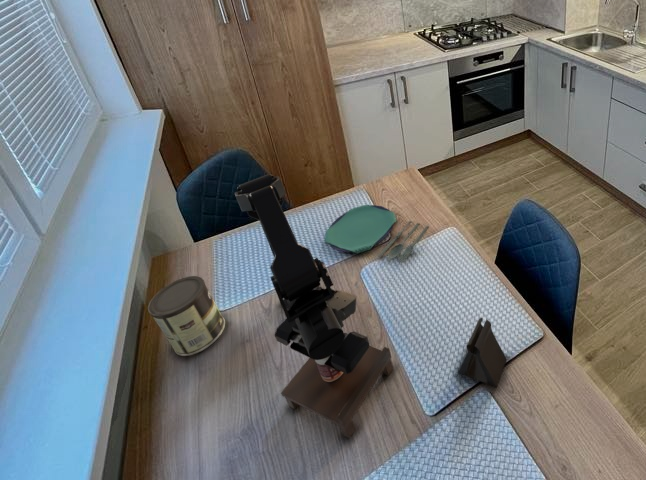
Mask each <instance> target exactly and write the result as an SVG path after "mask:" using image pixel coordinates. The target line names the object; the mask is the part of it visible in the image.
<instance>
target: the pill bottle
mask: <svg viewBox="0 0 646 480" xmlns="http://www.w3.org/2000/svg"><path fill="white" fill-rule="evenodd" d="M330 356H331V355H330ZM330 356H329V357H330ZM329 357H327V358H324V359H321V360H315V362H316V364H317V367H318V369H319V372H320V374H321V377H322V379H323V380H324V381H327V382H332V381H335V380H336V379H338V378H339V377H340V376H341V375H342V374H343V372H339V371H337V370H335V369H333V368H331V367H329V366H327V365H325V364H324V363H325V362H326V361H327V360H328V358H329Z"/></svg>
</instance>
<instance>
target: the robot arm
mask: <svg viewBox="0 0 646 480" xmlns="http://www.w3.org/2000/svg"><path fill="white" fill-rule="evenodd" d="M236 189H237V191H235V192H234V195H235V198H236V201H237V203H238V205H239V208H240V210H241V212H243V213H244V212H246V213H247V216H248V217H250V218H252V219H254V220H257V221H259V224H260V226H261V228H262V230H263V234H264V236H265V238H266V240H267V244H268V245H269V248H270V251H271V253H272V255H273V260H272V262H271V264H270V266H269V268H270V271H271V274H272V276H270V280H271V283H272V285H273V288H274V290H275V293H276V296H277V298H278V300H279V302H280V305H281V308H282V310H283V313H284V315H285V319H284V320H283V321H282V322H281V323H280V324H279V325H278V326H277V327H276V330H275V333H274V337H275V340H276V342H278V343H280V344H282V345H284V346H289V345H290V346H289V348H290V349H291V350H293V351H294V352H297V353H299V354H301V355H303V356H305V357H307V358H308V359H309V358H311V359H313V360H321V359H324V358H327V357H329V356H330V355H331V356H330V357H329V358H328V360H327V361H326V362H325V363H324V364H325V365H327V366H329V367H331V368H333V369H335V370H337V371H339V372H344V373H346V374H349V373H351V372H352V371H353V370H354V368H355V367H356V365H357V364H358V363H359V361H360V360H361V358H362V357H363V355H364V354H365V353H366V351H367V350H368V348H369V347H370V346H371V345H370V340H369V337H368V336H366V335H364V334H361V333H359V332H357V331H355V330H353V331H350V332H344V330H343V327H344V322H345V320H347V319H348V318H349V317H350V316H351V315H354V314H355V313H356V312H357V295H355V294H353V293H350V292H348V291H345V290H338V289H334V288H332V287H333V286H334V283H333V281H332V278H331V276H330V274H329V272H328V270H327V267H326V264H325V263H324V261H322V260H321V259H319V258H318V257H316V258H315V257H314V256H313V254H312V252H311V250H310V248H309V247H306V246H304V245H302V244H299V243H298V240H297V238H296V236H295V233H294V232H293V230H292V227H291V225H290V222H289V221H288V219H287V216H286V213H285V212H284V209H283V208H282V206H283V204H284V202H285V200H284V196H285V195H286V194H287V192H286V190H285V187H284V184H283V182H282V179H281V177H280V176H279V175H277V176H274V174H271V173H268V174H264V175H262V176H259V177H257V178H254V179H251V180H249V181H247V182H243V183H241V184H238V186H237V188H236ZM321 281H322V282H323V284H324V287H325V288H323V287H322V286H321Z"/></svg>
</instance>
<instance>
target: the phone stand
mask: <svg viewBox="0 0 646 480" xmlns="http://www.w3.org/2000/svg"><path fill="white" fill-rule="evenodd" d="M483 320H484V318H483V317H480V318H478V320H477V322H476V324H475V326H474V329H473V331H472V332H471V333H472V334H471V335H470V338H469V340H468V342H467V344H466V346H465V347H466V353H465V356H464V358H463V360H462V362H461V365H460V367H459V369H458V371H457V373H458V375H461V376H463V377H466V378H469V379H470V380H473V381H477V382H479V383H482V384H485V385H487V386H489V387H492V388H497V387H498V384H499V382H500V380H501V376H502V374H503V370H504V368H505V366H506V362H507V357H506V354H505V353H504V351H503V350H502V347H501V346H500V343H499V342H498V339H497V338H496V336H495V334H494V332H493V330H492V323H491V321H490V320H488V319H487V318H486V319H485V321H484V323H483V324H482V322H483Z"/></svg>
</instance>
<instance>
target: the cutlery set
mask: <svg viewBox="0 0 646 480" xmlns="http://www.w3.org/2000/svg"><path fill="white" fill-rule="evenodd" d="M397 221H398V220H397V218H396V213H394V211H391V210H390V209H389V208H387V207H385V206H383V205H376V204H371V205H370V204H363V205H360V206H356V207H353V208H350V209H349V210H347V211H345V212H344V213H343V214H341V215H340V216H338V217H337V218H336V219H335V220H334V221H333V222H332V223H331V225H330V226H329V227H328V228H327V229H326V231H325V233H324V243H328V244H329V246H330V247H331V248H332V249H334V250H335V251H336V252H337V251H338V252H342V253H355V254H360V253H363V252H367V251H370V250H371V249H372V248H373V247H375V246H376V245H378V244H379V243H381V242H382V241H383V240H385V239H386V238H387V237H388V235H390V233H391V231H392V230H393V228H394V224H395V223H397ZM410 224H412V220H409V222H408V223H407V224H406V225H405V226H404V228H402V229H401V230H400V231H399V232H397V234H396V235H395V236H394V238H393V239H392V240H390V242H389V243H387V245H385V247H384V248H383V250H382V251H381V252H380V257H382V256H383V255H384V254H385V253H386V252H387V251H388V250H389V249H390V247H391V246H392V245H393V244H394V243H395V242H396V241H397V240H399V239H400V237H401V236H402V234H403V232H405V230H407V229H406V228H408V226H409V225H410ZM420 226H421V224H420V223H419V222H417V223H416V224H415V225H414V226H413V228H412V229H411V230H410V231H409V233H408V234H407V235H406V237H405V238H404V240H403V241H402V243H398V244H396V245H394V246H393V247H392V248H391V249H390V250H389V252H388V256H387V258H388V259H393V258H396V257H398V256H399V255H400V254H401V253H402V252H403V253H402V254H401V255H400V257H399V259H398V260H397V262H399V263H401V264H402V263H403V262H405V260H406V259H407V258H408V257H409V256H410V255H411V254H412V253H413V249H414V247H415V246H416V245H417V244H418V242H419V241H420V240H421V238H423V236H424V235H425V233H426V232H427V231H428V230H429V229H430V228H429V227H430V226H429V225H425V227H424V228H423V230H422V231H421V232H420V234H419V235H418V237H417V238H416V239H415V240H414V241H413V242H412V244H410V245H409V246H407V247H406V248H405V249H404V244H405V243H406V242H407V240H408V239H409V238H410V237H411V235H412V234H413V233H414V232H415V231H416V230H417V229H418V227H420ZM403 250H404V251H403Z"/></svg>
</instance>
